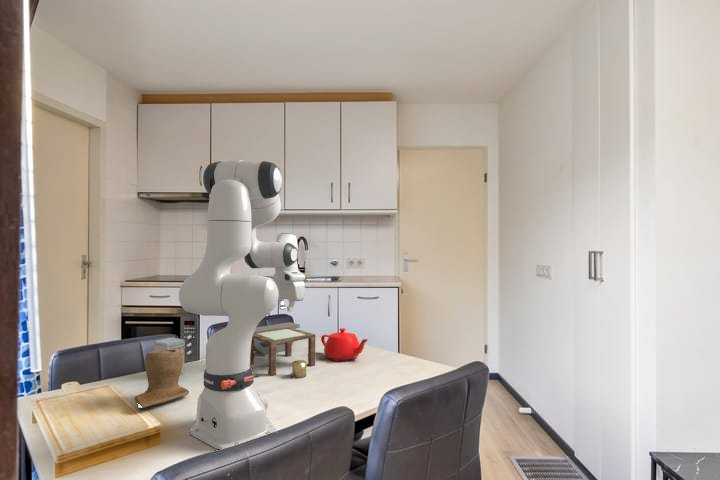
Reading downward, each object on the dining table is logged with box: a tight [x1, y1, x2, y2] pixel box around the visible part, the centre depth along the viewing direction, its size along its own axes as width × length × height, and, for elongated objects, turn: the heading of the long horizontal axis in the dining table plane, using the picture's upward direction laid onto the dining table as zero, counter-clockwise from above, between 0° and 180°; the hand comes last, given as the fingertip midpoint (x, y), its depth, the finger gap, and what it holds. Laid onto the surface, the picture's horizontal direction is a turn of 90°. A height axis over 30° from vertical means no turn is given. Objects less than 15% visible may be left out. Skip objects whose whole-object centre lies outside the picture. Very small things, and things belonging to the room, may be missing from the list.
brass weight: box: [291, 359, 307, 379], centre depth 138 cm, size 5×5×5 cm
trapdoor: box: [257, 329, 306, 340], centre depth 152 cm, size 14×14×1 cm
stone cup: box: [134, 349, 190, 409], centre depth 115 cm, size 15×12×15 cm
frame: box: [250, 327, 316, 377], centre depth 152 cm, size 19×19×12 cm
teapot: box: [320, 327, 369, 362], centre depth 162 cm, size 25×16×12 cm, turn 54°
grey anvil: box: [254, 321, 301, 356], centre depth 172 cm, size 25×8×11 cm, turn 135°
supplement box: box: [153, 337, 186, 376], centre depth 138 cm, size 7×7×13 cm
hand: (286, 310), depth 150 cm, fingers open, 5 cm apart
